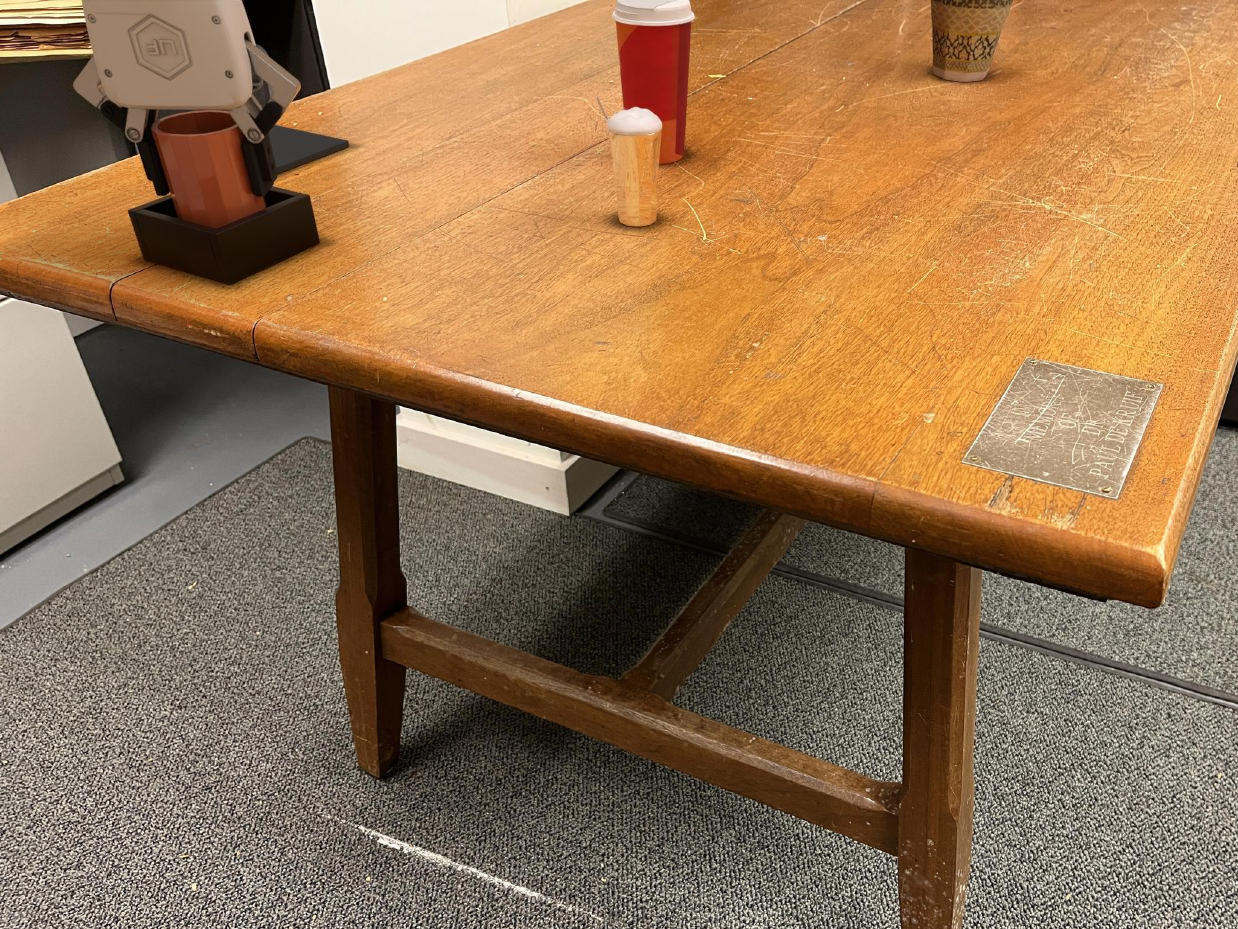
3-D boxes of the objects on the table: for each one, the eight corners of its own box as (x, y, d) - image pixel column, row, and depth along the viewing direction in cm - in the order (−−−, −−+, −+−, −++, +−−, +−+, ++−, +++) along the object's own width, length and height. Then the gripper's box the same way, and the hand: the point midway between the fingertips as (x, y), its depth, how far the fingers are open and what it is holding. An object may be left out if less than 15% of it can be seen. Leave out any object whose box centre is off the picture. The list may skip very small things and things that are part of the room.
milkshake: (608, 208, 94) (603, 89, 88) (667, 212, 93) (666, 93, 87) (596, 227, 90) (590, 105, 84) (658, 231, 90) (656, 109, 84)
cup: (172, 257, 84) (131, 127, 77) (236, 230, 88) (202, 105, 82) (231, 273, 81) (194, 141, 75) (293, 245, 86) (263, 118, 80)
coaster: (181, 158, 102) (179, 152, 101) (268, 128, 110) (267, 122, 109) (265, 178, 98) (264, 172, 98) (349, 146, 106) (348, 140, 105)
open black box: (143, 259, 83) (126, 209, 81) (236, 221, 90) (224, 174, 87) (230, 285, 80) (215, 233, 77) (320, 243, 86) (309, 194, 84)
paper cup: (659, 137, 110) (656, -12, 101) (710, 156, 106) (712, 1, 97) (600, 153, 106) (592, -1, 97) (651, 173, 101) (648, 13, 93)
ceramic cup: (992, 89, 128) (1007, -3, 121) (911, 79, 130) (922, -11, 124) (1010, 64, 137) (1026, -22, 131) (935, 56, 140) (946, -29, 134)
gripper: (-19, -69, 67) (80, 207, 78) (259, -65, 68) (318, 208, 79) (36, -86, 73) (121, 173, 84) (291, -82, 74) (342, 174, 85)
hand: (216, 188), depth 82 cm, fingers closed on cup, 6 cm apart
